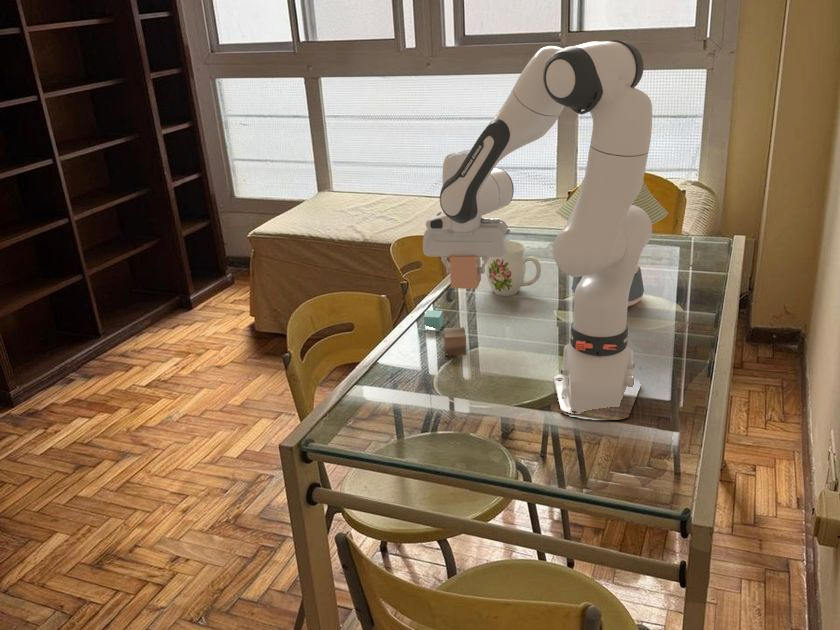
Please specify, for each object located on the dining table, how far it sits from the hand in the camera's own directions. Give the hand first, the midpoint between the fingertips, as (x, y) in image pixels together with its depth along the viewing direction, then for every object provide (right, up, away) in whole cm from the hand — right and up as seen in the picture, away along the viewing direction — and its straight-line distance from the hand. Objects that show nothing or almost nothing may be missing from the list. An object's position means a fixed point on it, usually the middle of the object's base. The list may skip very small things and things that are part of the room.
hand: (465, 272), depth 197 cm
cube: (-8, -14, +10) cm, 19 cm away
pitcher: (+14, -4, +29) cm, 32 cm away
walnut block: (-3, -19, -3) cm, 19 cm away
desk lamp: (+39, -7, +20) cm, 45 cm away
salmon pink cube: (0, -3, +1) cm, 3 cm away
